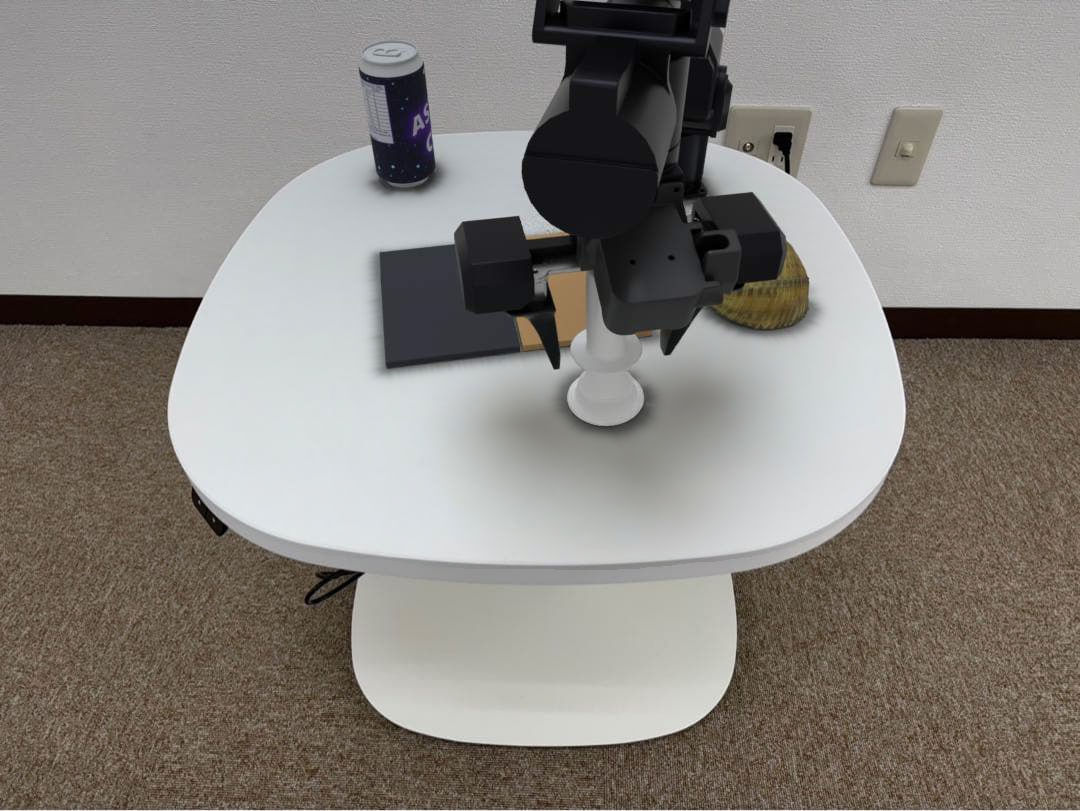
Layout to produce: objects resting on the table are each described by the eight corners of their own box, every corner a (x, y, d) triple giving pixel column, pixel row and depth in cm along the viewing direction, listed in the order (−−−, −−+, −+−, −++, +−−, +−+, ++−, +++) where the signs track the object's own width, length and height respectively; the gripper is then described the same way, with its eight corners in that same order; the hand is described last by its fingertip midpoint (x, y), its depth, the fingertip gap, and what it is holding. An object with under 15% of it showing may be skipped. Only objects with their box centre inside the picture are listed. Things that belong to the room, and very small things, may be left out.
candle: (612, 361, 58) (615, 222, 49) (659, 404, 55) (671, 264, 46) (552, 392, 56) (543, 254, 48) (597, 439, 53) (596, 300, 45)
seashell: (784, 332, 67) (792, 235, 66) (831, 333, 60) (841, 225, 59) (675, 325, 65) (682, 225, 64) (711, 325, 58) (719, 213, 57)
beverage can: (426, 194, 75) (410, 66, 66) (369, 188, 76) (346, 61, 67) (443, 164, 79) (430, 40, 70) (389, 159, 80) (369, 35, 71)
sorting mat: (609, 233, 70) (609, 227, 70) (651, 335, 61) (652, 329, 60) (380, 257, 68) (379, 251, 68) (386, 368, 58) (385, 362, 58)
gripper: (464, 236, 35) (485, 469, 46) (863, 195, 37) (792, 426, 48) (442, 123, 43) (464, 345, 54) (773, 94, 45) (729, 313, 56)
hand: (610, 358), depth 53 cm, fingers closed on candle, 7 cm apart
